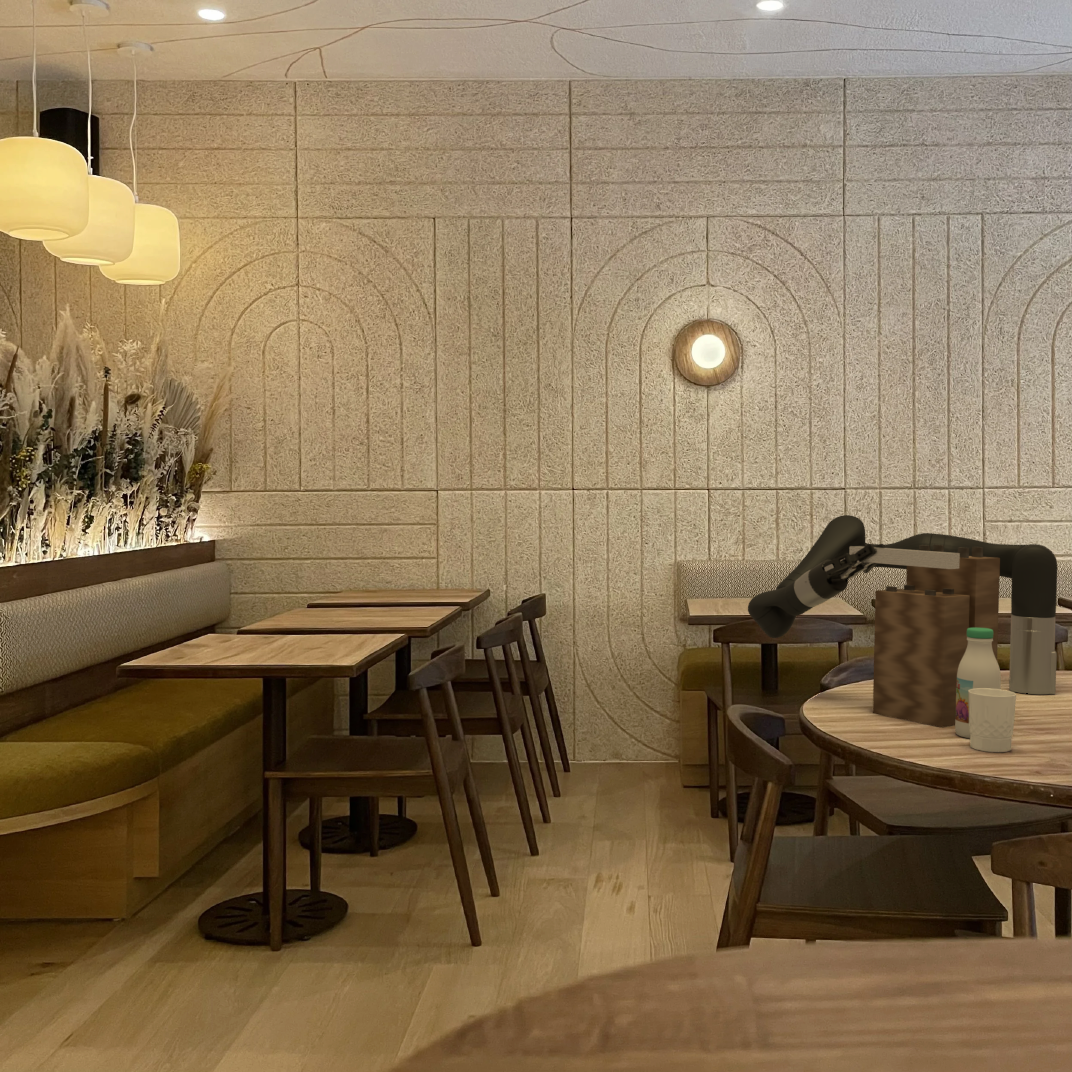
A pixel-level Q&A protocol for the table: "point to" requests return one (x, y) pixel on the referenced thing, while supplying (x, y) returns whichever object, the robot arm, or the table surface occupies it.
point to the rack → (931, 635)
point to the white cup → (991, 719)
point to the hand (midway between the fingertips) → (878, 548)
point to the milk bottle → (975, 674)
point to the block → (912, 557)
